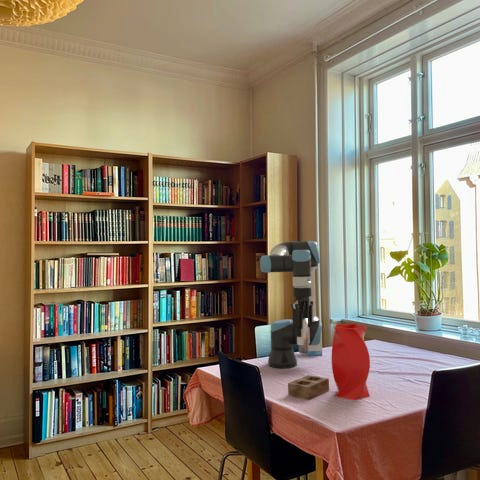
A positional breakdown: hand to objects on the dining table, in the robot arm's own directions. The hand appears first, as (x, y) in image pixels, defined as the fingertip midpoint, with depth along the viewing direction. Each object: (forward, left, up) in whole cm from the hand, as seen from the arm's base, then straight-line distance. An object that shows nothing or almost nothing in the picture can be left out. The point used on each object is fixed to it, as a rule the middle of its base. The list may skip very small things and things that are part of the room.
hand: (303, 343), depth 191 cm
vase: (+14, +12, -21) cm, 28 cm away
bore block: (0, +4, -21) cm, 21 cm away
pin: (0, 0, -4) cm, 4 cm away
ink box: (-37, +70, -21) cm, 82 cm away
